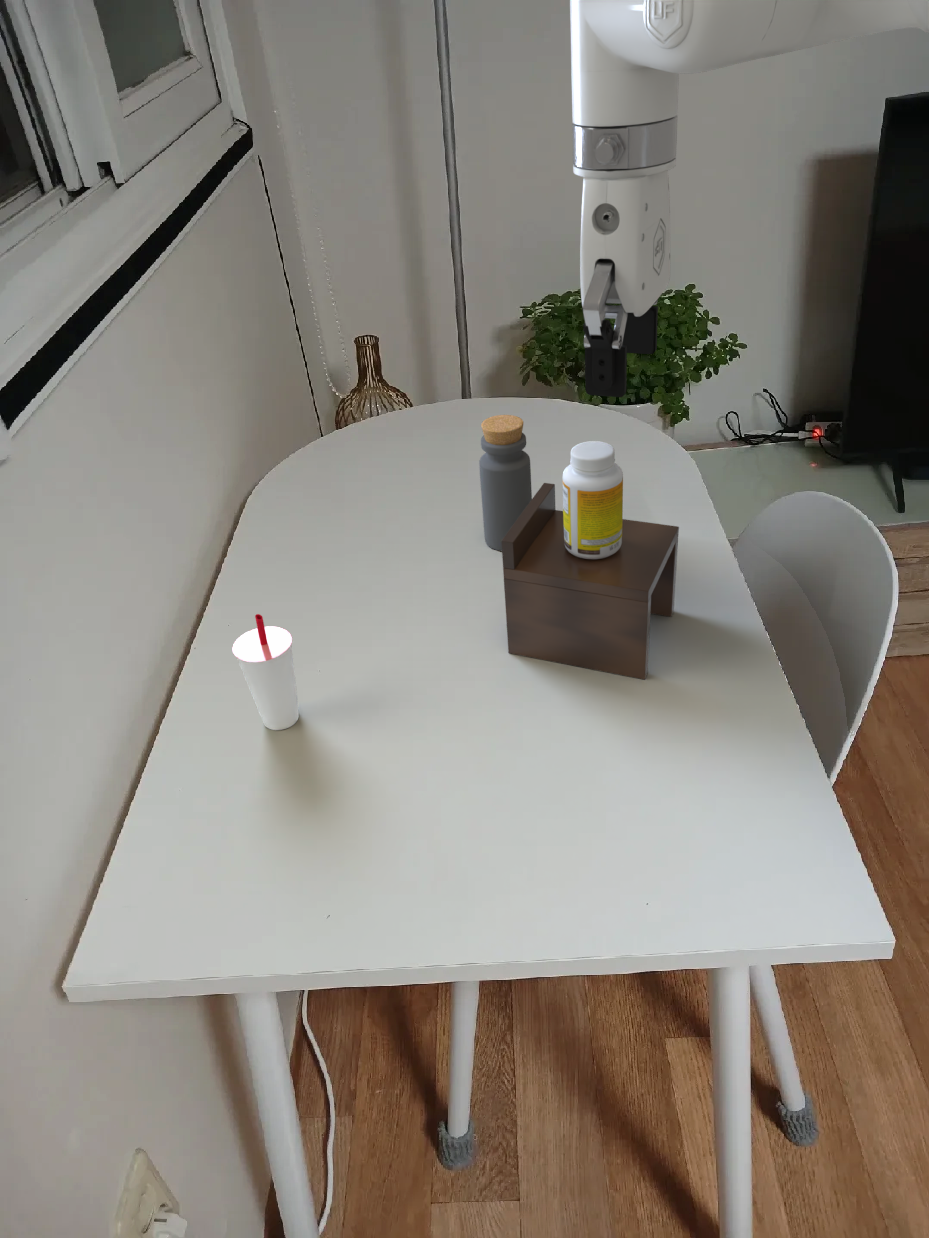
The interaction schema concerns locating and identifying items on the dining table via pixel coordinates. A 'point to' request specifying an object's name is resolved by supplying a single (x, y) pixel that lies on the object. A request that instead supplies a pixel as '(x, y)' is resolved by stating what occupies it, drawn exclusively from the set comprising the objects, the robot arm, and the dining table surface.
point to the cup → (269, 673)
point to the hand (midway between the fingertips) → (622, 372)
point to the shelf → (585, 591)
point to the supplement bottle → (592, 501)
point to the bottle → (503, 476)
